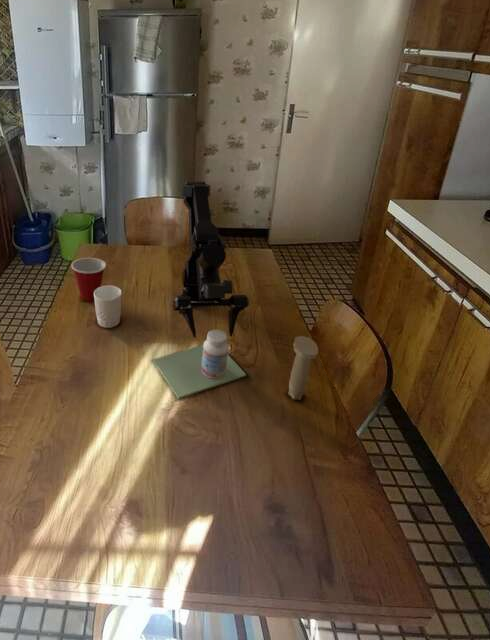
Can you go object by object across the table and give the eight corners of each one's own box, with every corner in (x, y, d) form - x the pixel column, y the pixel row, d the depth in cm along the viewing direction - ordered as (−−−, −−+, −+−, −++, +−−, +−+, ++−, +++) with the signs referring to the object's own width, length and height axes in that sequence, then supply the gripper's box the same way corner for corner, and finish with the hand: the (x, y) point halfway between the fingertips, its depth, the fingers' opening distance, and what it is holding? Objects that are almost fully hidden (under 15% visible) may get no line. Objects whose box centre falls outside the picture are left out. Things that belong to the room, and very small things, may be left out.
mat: (216, 342, 120) (216, 341, 120) (245, 376, 109) (246, 374, 108) (153, 361, 113) (153, 359, 113) (178, 399, 102) (178, 397, 101)
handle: (301, 386, 106) (312, 336, 99) (309, 406, 100) (321, 355, 94) (281, 385, 106) (291, 335, 99) (288, 405, 100) (299, 354, 94)
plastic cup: (113, 292, 143) (112, 259, 138) (96, 309, 134) (94, 275, 129) (85, 284, 147) (83, 252, 142) (66, 300, 138) (64, 267, 133)
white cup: (118, 331, 124) (117, 301, 120) (91, 327, 126) (90, 298, 121) (124, 315, 131) (124, 286, 127) (99, 311, 133) (98, 283, 128)
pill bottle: (196, 370, 109) (198, 334, 104) (212, 359, 113) (215, 324, 108) (214, 383, 105) (218, 347, 100) (230, 372, 109) (235, 336, 104)
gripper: (176, 269, 106) (179, 334, 101) (251, 267, 107) (258, 332, 102) (171, 280, 116) (174, 339, 111) (240, 278, 118) (246, 337, 112)
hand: (213, 337), depth 109 cm, fingers open, 9 cm apart
